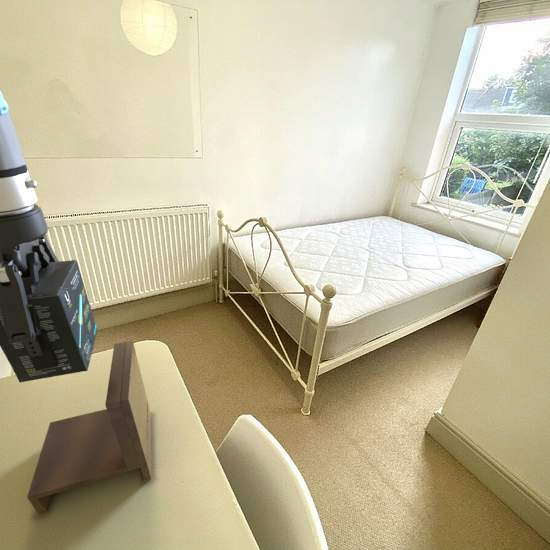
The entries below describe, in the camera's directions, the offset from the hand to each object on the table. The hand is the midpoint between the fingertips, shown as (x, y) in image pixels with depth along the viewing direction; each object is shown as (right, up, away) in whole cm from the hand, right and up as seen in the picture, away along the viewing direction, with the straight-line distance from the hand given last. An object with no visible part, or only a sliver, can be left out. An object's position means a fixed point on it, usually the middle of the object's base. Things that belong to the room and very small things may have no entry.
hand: (57, 340), depth 50 cm
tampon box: (0, -3, +1) cm, 3 cm away
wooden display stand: (+1, -26, +11) cm, 28 cm away
